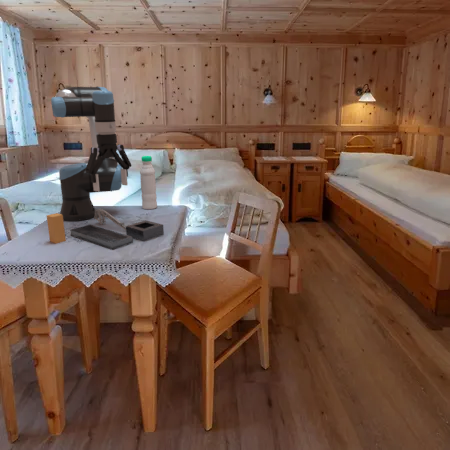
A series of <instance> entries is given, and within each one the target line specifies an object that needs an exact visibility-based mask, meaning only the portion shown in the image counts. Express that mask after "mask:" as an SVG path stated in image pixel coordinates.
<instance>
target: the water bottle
mask: <svg viewBox="0 0 450 450" xmlns="http://www.w3.org/2000/svg"><path fill="white" fill-rule="evenodd" d="M152 160H153V157H152V156H151V155H143V156H141V162H142V165H141V168H140V171H139V174H140V189H141V200H142V201H141V204H142V205H141V206H142V209H144V210H154V209H156V208H157V207H158V201H157V186H156V184H157V182H156V180H157V179H156V170H155V168H154V166H153V164H152V162H153V161H152Z"/></svg>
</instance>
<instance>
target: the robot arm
mask: <svg viewBox="0 0 450 450" xmlns="http://www.w3.org/2000/svg"><path fill="white" fill-rule="evenodd" d="M50 101H51V102H50V103H51V110H52V115H53V117H55V118H75V117H76V118H77V117H80V118H81V117H82V118H85V117H86V118H87V119H88V125H89V133H90V140H91V141H90V142H91V146H92V147H90V156H89V158H88V162H87V163H85V162H82V163H75V164H74V163H73V164H68V165H65V166H62V167H61V168H60V169H59V171H58V173H59V175H58V176H59V178H58V179H59V182H60V191H61V198H62V201H61V202H62V203H61V207H60V212H59V214H61V215H63V221H67V222H74V221H75V222H77V221H78V222H79V221H85V220H89V219H94V216H95V211H96V208H95V206H94V204H93V202H92V200H91V193H103V192H104V193H105V192H114V191H115V192H116V191H120V189H122V186H128V177H129V171H128V170H129V169H130V168H131V167H132V163H131V161H130V159H129V156H128V155H127V153H126V151H125V147H124V144H117V143H118V137H117V127H116V125H117V124H116V117H115V116H116V113H115V103H114V102H115V100H114V93H113V91H111V90H108V88H106V87H104V86H70V87H66V88H65V87H64V88H62V89H61V90H58V92H56V93H55V96H52V97H51V99H50Z"/></svg>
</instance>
